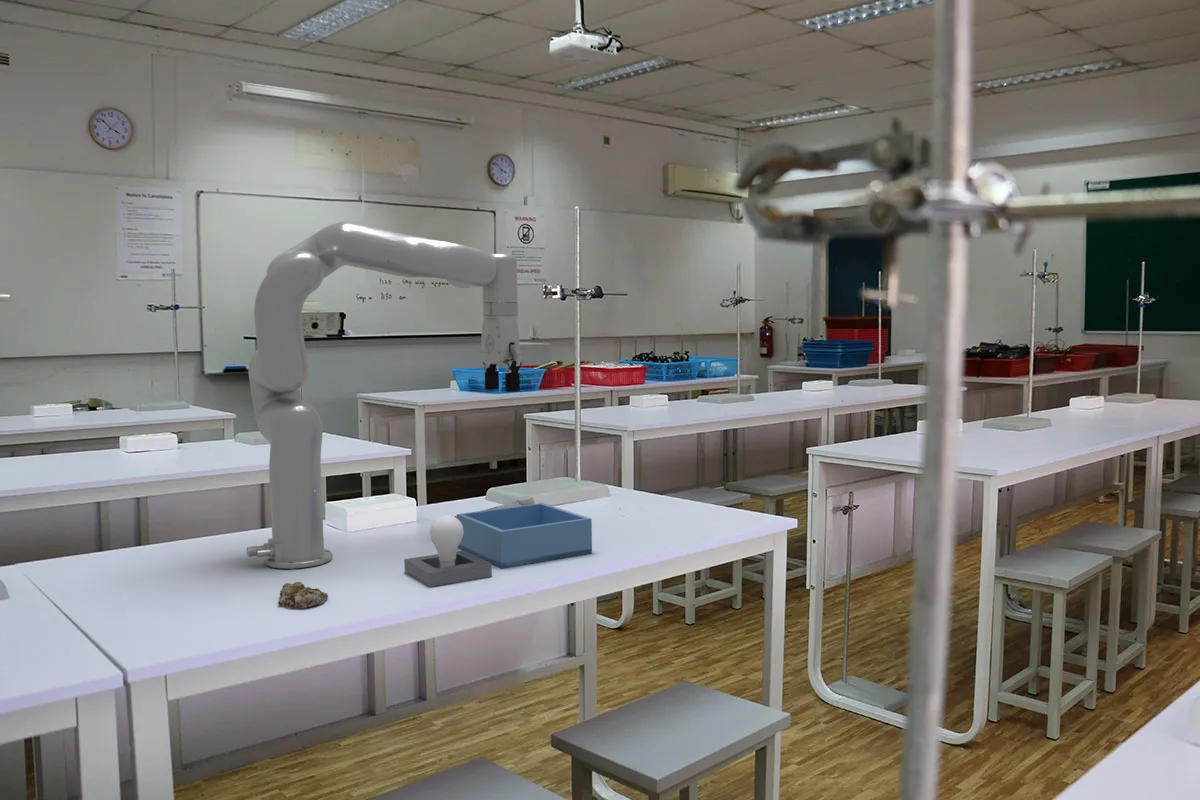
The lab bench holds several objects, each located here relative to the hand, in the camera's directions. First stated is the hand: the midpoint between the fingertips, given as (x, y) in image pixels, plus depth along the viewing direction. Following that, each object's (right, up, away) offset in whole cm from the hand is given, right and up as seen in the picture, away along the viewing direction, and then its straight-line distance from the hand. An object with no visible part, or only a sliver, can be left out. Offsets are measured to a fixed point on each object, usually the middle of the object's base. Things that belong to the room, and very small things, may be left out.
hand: (502, 390), depth 208 cm
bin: (+6, -33, -15) cm, 36 cm away
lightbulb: (-7, -34, -32) cm, 48 cm away
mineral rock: (-29, -36, -48) cm, 66 cm away
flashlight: (-3, -31, +6) cm, 32 cm away
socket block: (-7, -34, -33) cm, 48 cm away
